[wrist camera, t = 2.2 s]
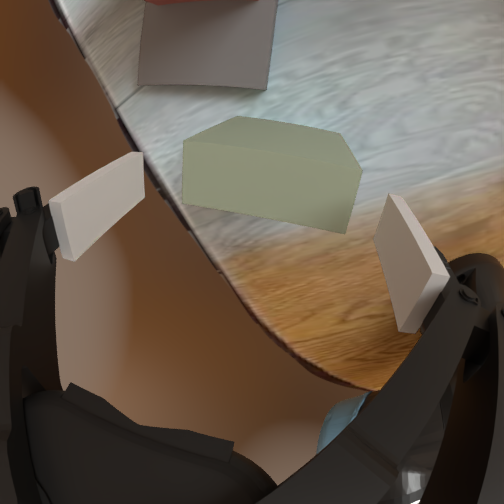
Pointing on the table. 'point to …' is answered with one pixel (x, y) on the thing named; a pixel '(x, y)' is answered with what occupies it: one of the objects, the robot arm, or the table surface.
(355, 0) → the table surface
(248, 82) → the book shelf
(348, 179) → the loose book
